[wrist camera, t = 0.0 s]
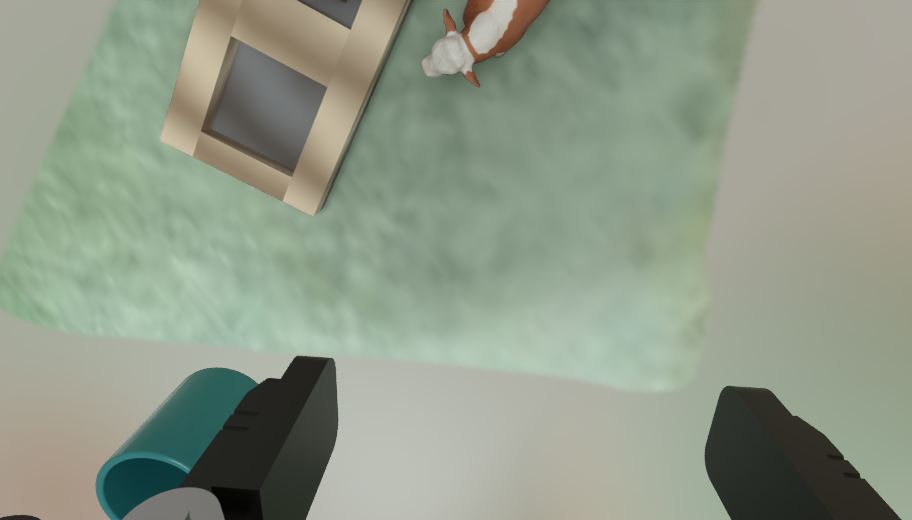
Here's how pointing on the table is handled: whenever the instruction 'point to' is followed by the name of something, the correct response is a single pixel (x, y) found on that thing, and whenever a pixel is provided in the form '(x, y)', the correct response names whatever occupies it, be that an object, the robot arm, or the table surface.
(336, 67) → the puzzle board
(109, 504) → the cup
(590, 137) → the table surface
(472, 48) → the bull figurine
